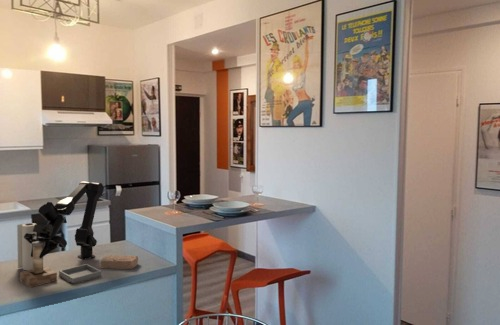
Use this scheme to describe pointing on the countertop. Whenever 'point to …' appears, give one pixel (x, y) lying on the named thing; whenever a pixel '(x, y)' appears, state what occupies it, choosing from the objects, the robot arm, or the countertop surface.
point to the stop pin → (37, 256)
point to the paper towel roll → (25, 246)
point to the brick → (119, 262)
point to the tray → (79, 273)
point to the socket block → (38, 277)
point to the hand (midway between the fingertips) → (35, 257)
